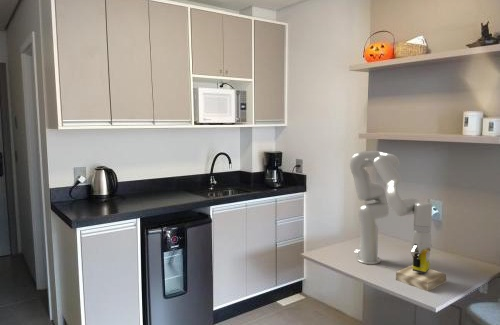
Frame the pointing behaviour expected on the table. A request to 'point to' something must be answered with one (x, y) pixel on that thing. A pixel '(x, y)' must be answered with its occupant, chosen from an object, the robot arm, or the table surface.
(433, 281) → the birch riser
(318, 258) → the table surface
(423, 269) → the supplement box
